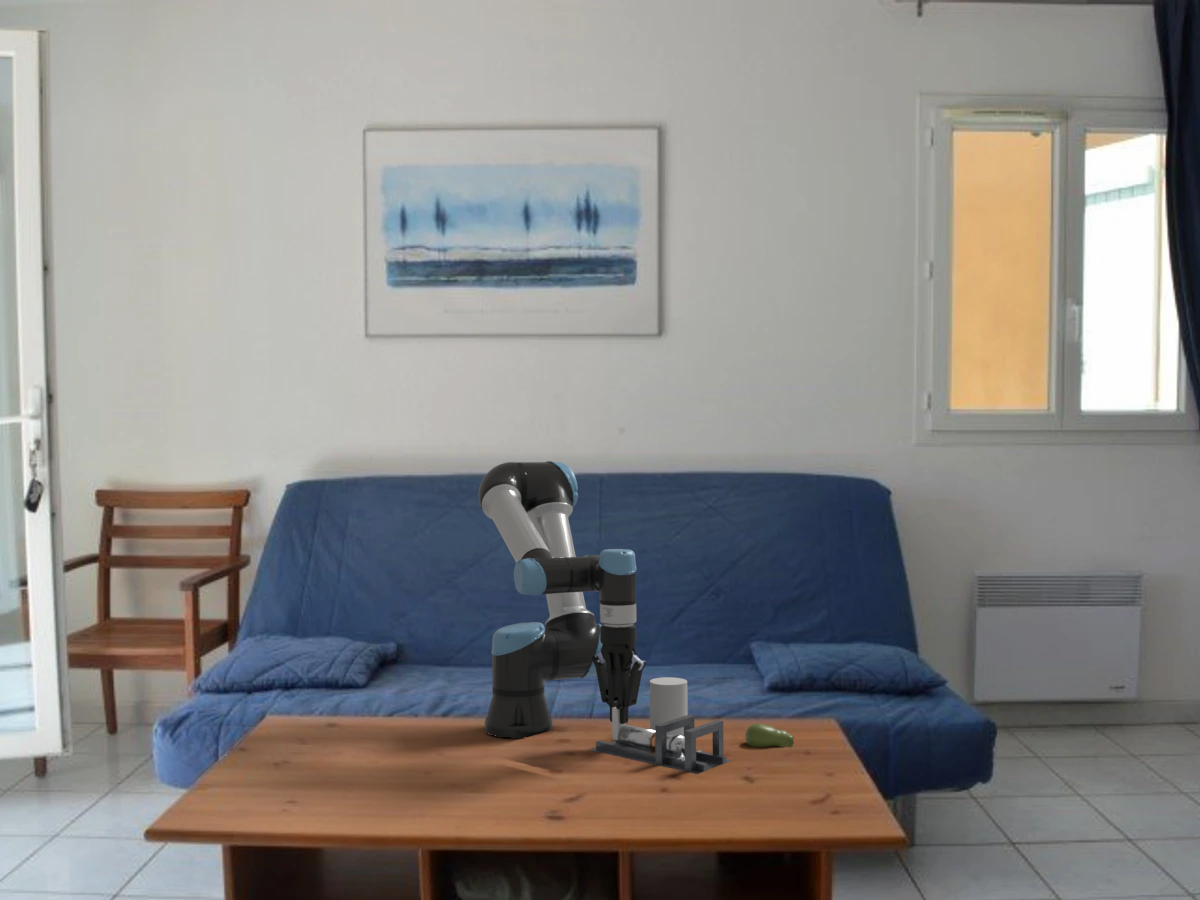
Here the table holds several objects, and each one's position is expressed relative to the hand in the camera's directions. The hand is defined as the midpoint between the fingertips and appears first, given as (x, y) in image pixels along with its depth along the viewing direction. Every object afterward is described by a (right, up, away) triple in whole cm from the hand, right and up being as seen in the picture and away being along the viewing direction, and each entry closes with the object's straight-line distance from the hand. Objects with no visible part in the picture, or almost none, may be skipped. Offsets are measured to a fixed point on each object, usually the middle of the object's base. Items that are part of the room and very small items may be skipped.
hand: (619, 738), depth 226 cm
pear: (+31, -3, +1) cm, 32 cm away
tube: (+6, -2, -5) cm, 8 cm away
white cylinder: (+11, -3, +12) cm, 17 cm away
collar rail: (+8, -3, -6) cm, 11 cm away
